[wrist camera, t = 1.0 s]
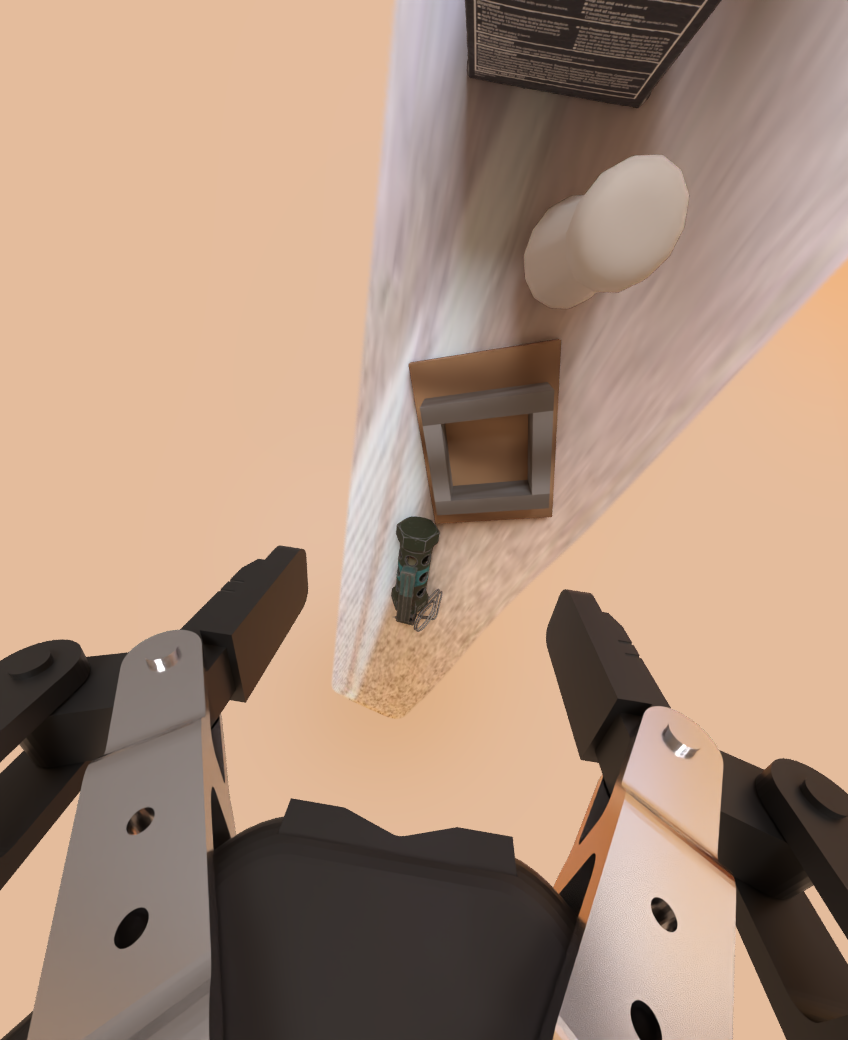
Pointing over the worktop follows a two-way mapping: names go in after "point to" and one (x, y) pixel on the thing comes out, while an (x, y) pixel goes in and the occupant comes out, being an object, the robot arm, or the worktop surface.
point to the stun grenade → (414, 570)
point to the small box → (581, 44)
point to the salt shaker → (608, 233)
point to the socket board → (489, 431)
